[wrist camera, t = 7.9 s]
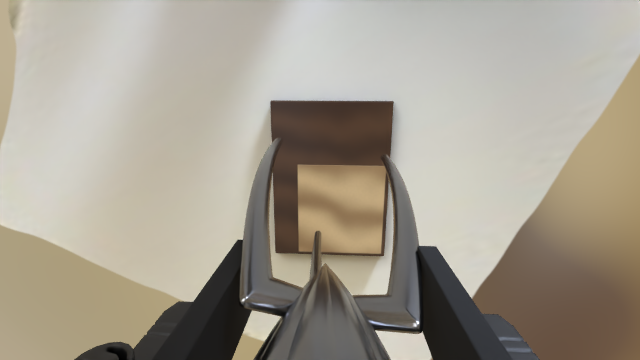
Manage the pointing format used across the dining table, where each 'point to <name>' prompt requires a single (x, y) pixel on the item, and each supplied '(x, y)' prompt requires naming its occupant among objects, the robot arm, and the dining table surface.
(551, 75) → the dining table surface
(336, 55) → the dining table surface
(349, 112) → the board
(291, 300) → the juicer
